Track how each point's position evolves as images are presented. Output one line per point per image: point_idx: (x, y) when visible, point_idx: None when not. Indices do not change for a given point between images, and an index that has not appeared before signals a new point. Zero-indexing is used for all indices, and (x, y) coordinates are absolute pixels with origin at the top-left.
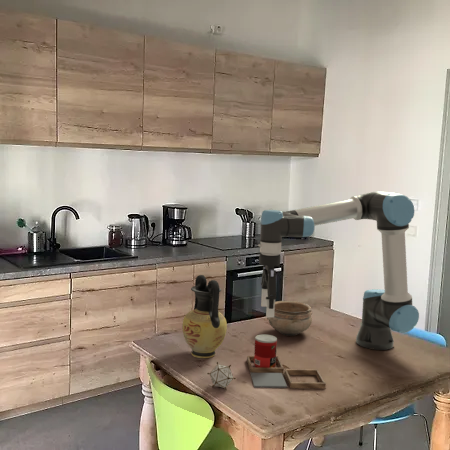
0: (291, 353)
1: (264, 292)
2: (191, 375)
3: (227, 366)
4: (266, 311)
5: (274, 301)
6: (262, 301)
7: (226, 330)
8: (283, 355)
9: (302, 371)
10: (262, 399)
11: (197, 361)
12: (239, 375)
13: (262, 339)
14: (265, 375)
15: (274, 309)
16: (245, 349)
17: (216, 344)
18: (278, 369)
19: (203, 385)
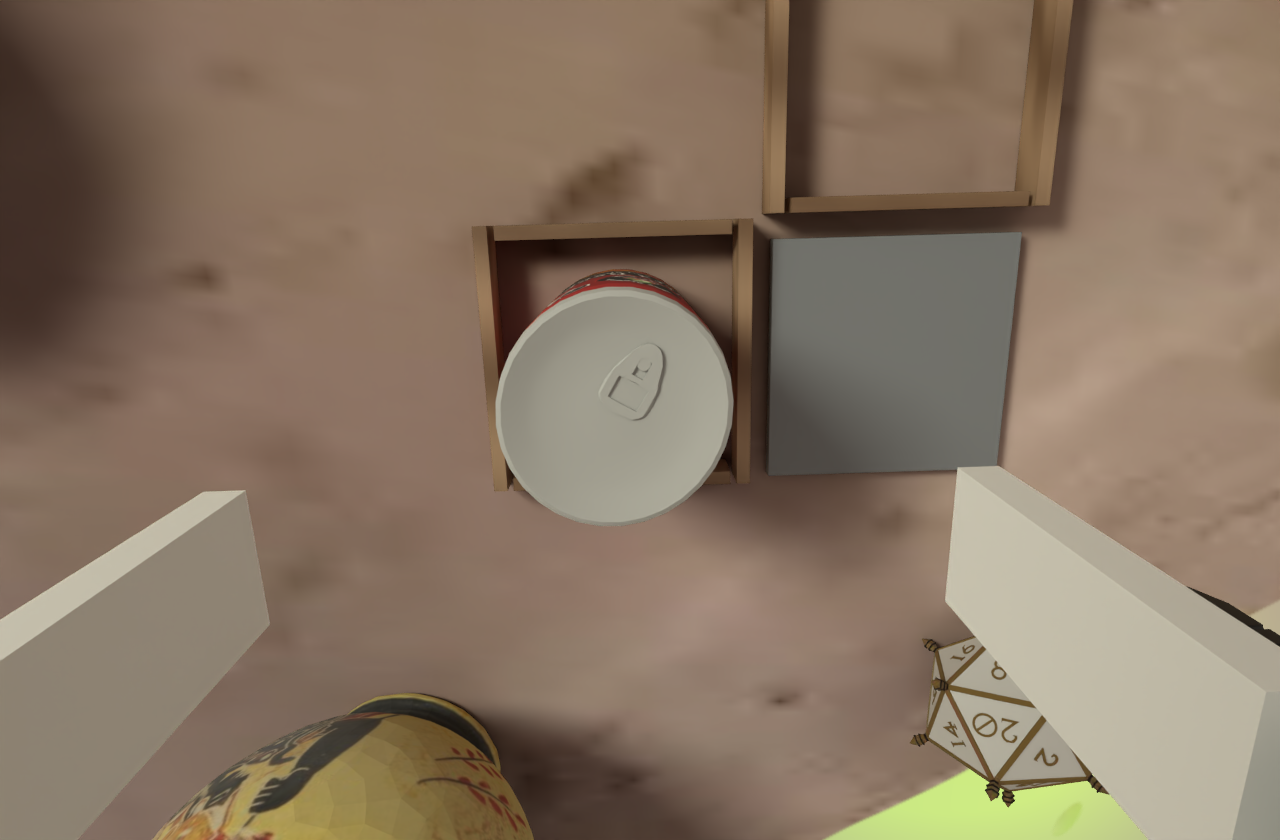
0: (276, 68)
1: (29, 803)
2: (784, 818)
3: (1047, 721)
4: (1010, 659)
5: (1268, 654)
6: (208, 668)
7: (349, 764)
8: (342, 157)
9: (785, 50)
10: (1172, 427)
11: (553, 793)
12: (785, 545)
13: (641, 451)
14: (821, 372)
15: (1095, 530)
16: (255, 473)
17: (494, 769)
18: (750, 263)
19: (934, 753)
